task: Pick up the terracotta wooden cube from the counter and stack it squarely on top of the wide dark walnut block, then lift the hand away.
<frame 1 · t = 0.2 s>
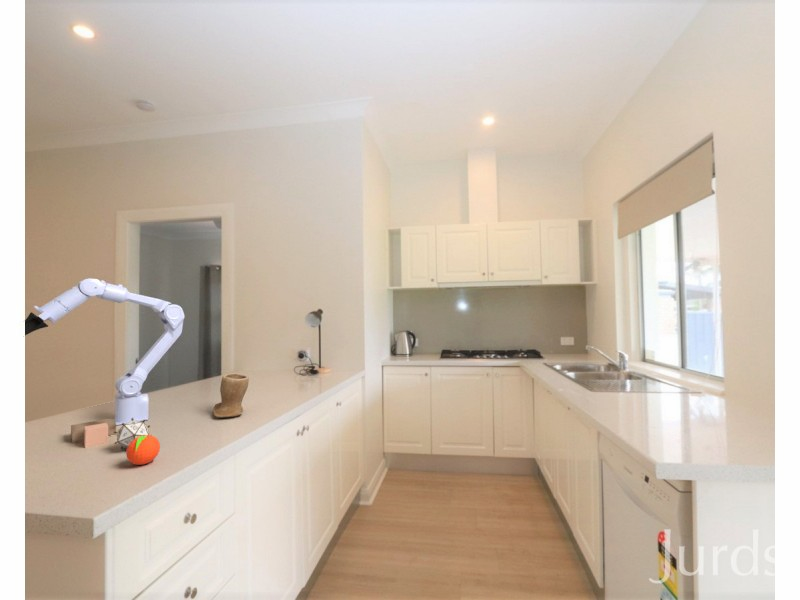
hand: (15, 335, 108), 31 cm above the worktop, tool tilted 50°, fingers open, 7 cm apart
walnut block: (93, 437, 111), on the worktop
clementine: (142, 465, 90), on the worktop
brown boot: (231, 414, 135), on the worktop
terracotta cube: (96, 443, 105), on the worktop
game die: (132, 449, 100), on the worktop
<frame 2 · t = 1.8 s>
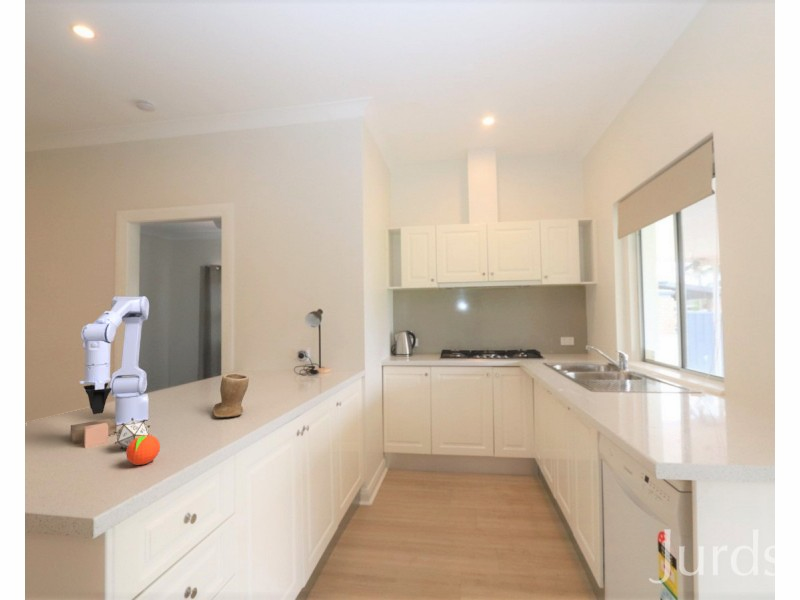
hand: (96, 411, 105), 9 cm above the worktop, tool pointing down, fingers open, 7 cm apart
nothing on the worktop moved.
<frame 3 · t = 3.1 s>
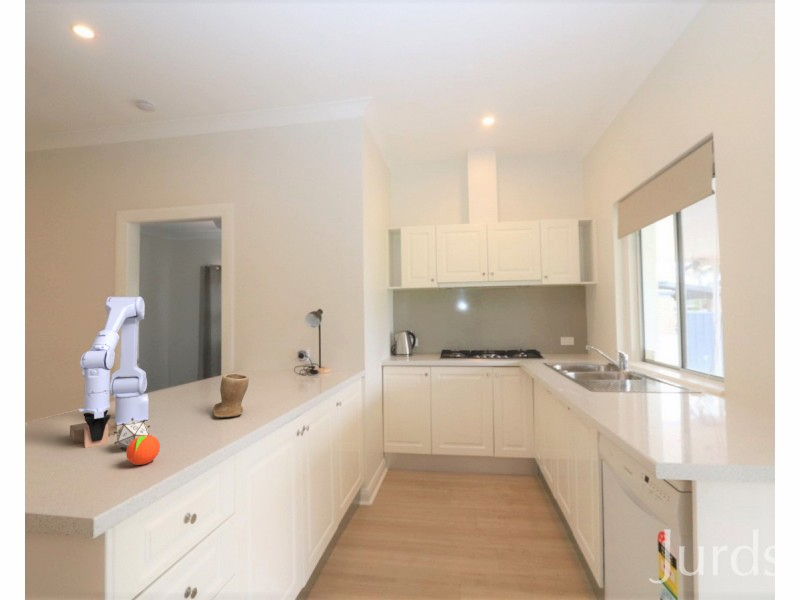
hand: (96, 438, 105), 1 cm above the worktop, tool pointing down, fingers closed on terracotta cube, 5 cm apart
terracotta cube: (96, 443, 105), on the worktop, touching gripper
everything else where it was.
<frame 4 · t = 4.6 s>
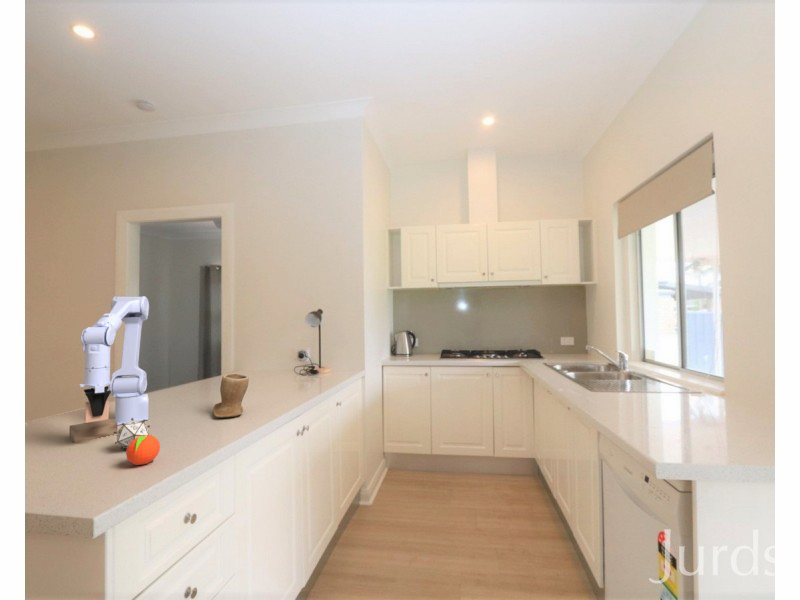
hand: (96, 414, 105), 8 cm above the worktop, tool pointing down, fingers closed on terracotta cube, 5 cm apart
terracotta cube: (96, 419, 105), point 7 cm above the worktop, touching gripper
everything else where it was.
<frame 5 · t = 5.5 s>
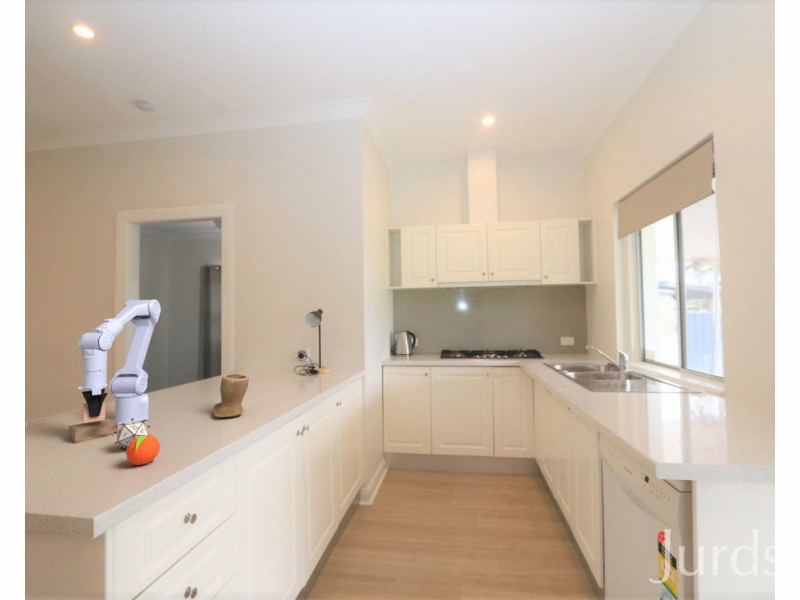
hand: (94, 414, 112), 6 cm above the worktop, tool pointing down, fingers closed on terracotta cube, 5 cm apart
terracotta cube: (93, 419, 111), point 5 cm above the worktop, touching gripper
everything else where it was.
when the fingers open (6 cm above the worktop, at t = 6.0 s): terracotta cube drops 1 cm, resting on walnut block.
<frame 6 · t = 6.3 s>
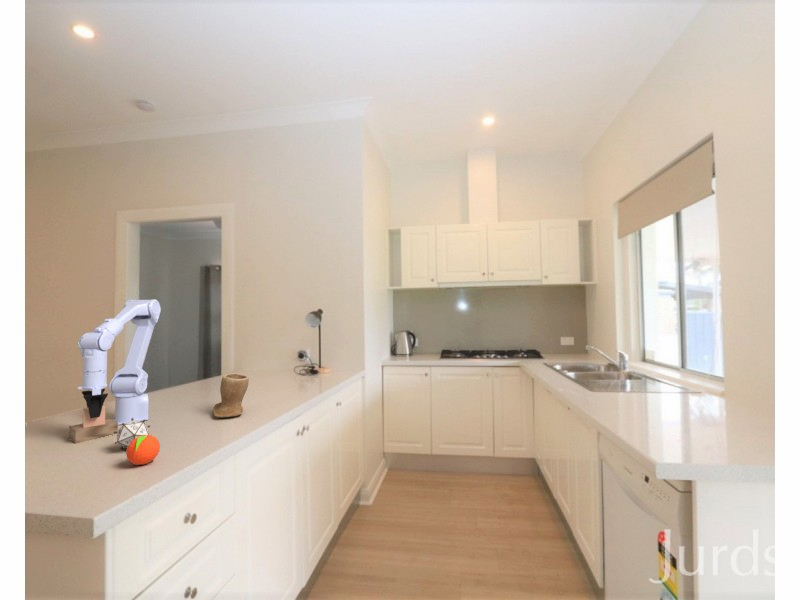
hand: (94, 415, 112), 6 cm above the worktop, tool pointing down, fingers open, 7 cm apart
walnut block: (93, 437, 111), on the worktop, touching terracotta cube
terracotta cube: (93, 424, 112), point 4 cm above the worktop, touching walnut block
everything else where it was.
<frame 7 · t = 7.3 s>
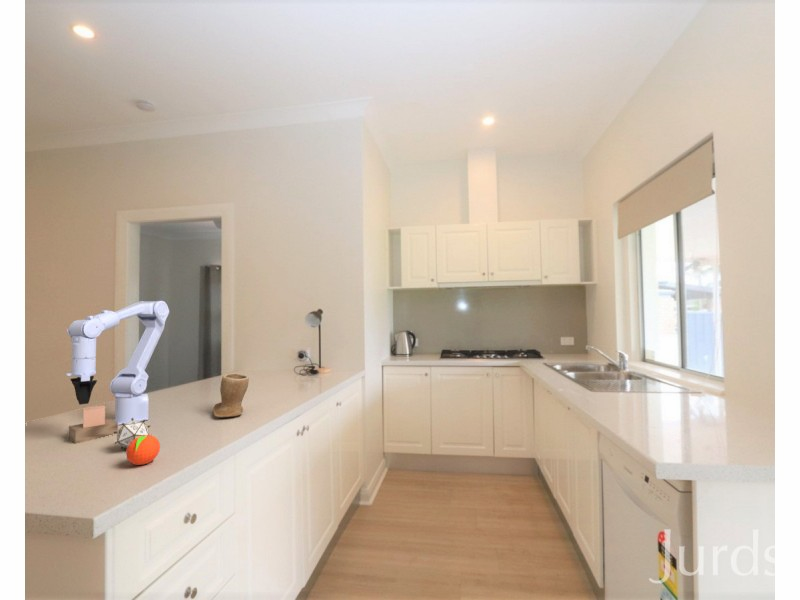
hand: (82, 401, 112), 10 cm above the worktop, tool pointing down, fingers open, 7 cm apart
walnut block: (93, 437, 111), on the worktop
terracotta cube: (93, 424, 111), point 4 cm above the worktop
everything else where it was.
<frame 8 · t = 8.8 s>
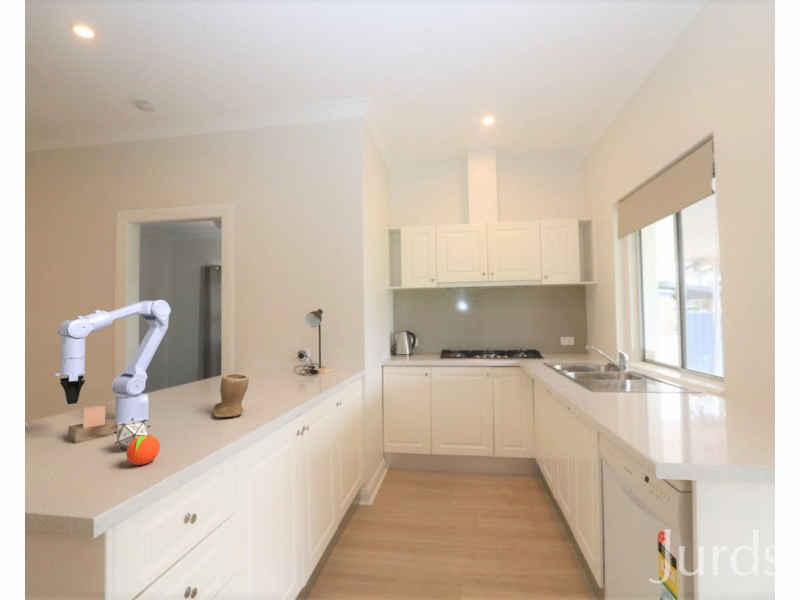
hand: (71, 401, 113), 10 cm above the worktop, tool pointing down, fingers open, 7 cm apart
walnut block: (93, 437, 111), on the worktop, touching terracotta cube
terracotta cube: (94, 424, 111), point 4 cm above the worktop, touching walnut block
everything else where it was.
at the end: terracotta cube 0.2 cm off-centre on the walnut block, point 4.0 cm above the walnut block's base; terracotta cube tilted 0°; the gripper is holding nothing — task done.
